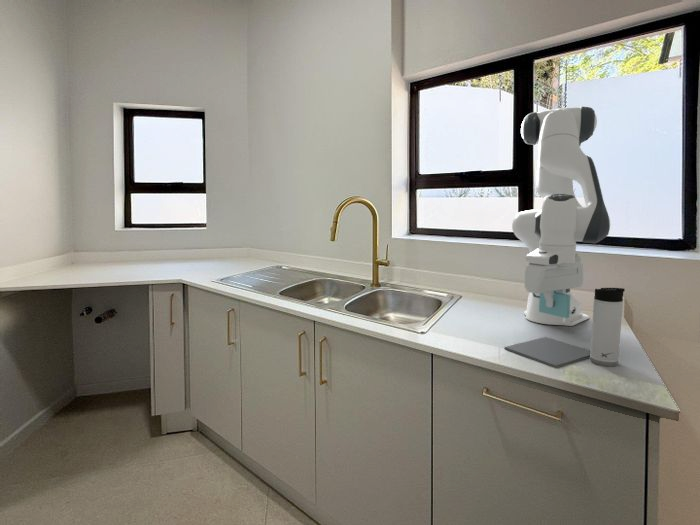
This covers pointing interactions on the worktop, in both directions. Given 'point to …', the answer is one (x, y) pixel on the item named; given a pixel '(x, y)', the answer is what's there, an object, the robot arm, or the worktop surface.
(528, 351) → the mat
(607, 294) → the travel mug
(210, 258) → the worktop surface
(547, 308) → the block
